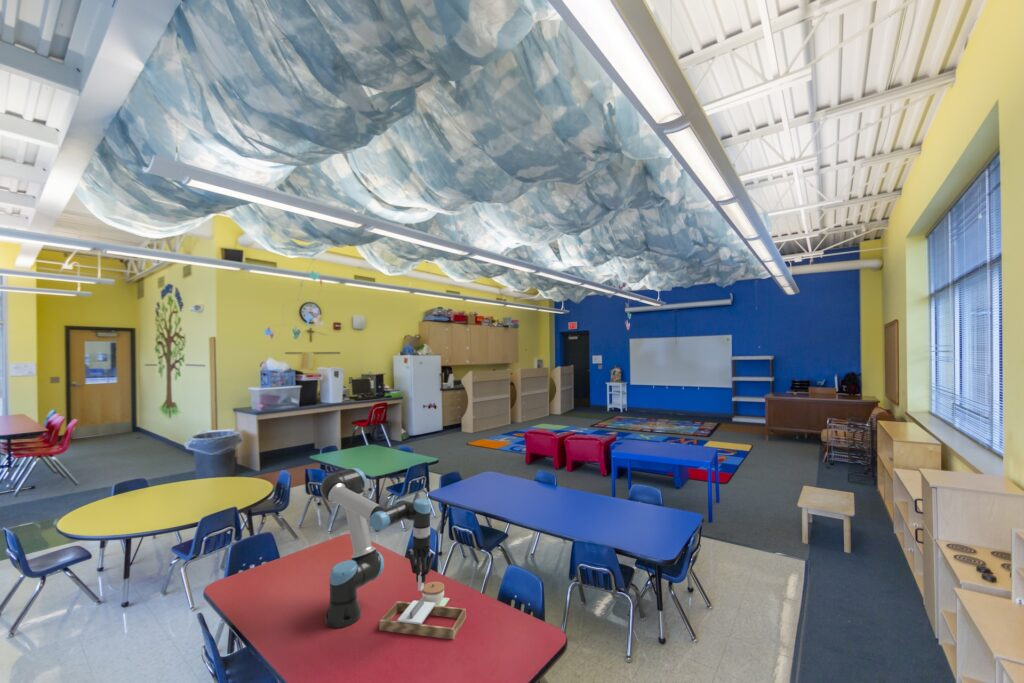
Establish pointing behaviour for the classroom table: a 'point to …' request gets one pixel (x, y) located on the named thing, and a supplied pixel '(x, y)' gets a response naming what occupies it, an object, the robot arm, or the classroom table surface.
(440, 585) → the lidded jar
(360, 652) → the classroom table surface
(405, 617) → the lid
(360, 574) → the robot arm
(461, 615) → the wooden rectangular frame
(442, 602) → the mat
